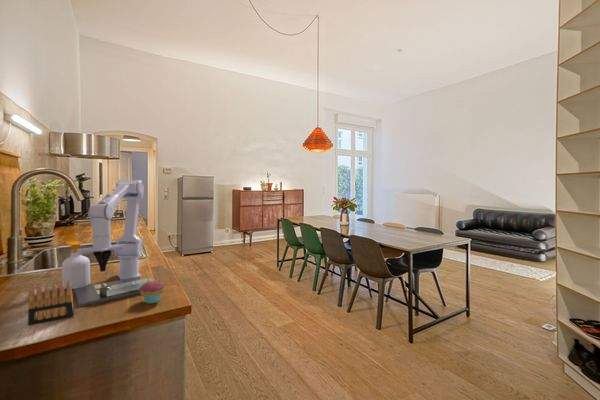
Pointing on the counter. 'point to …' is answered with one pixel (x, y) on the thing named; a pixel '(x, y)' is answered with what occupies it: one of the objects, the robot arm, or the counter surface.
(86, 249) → the robot arm
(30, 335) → the counter surface
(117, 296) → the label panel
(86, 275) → the soap bottle
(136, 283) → the white long bar
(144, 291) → the cupcake
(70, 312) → the ammunition clip
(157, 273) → the counter surface
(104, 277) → the counter surface
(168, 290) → the counter surface
